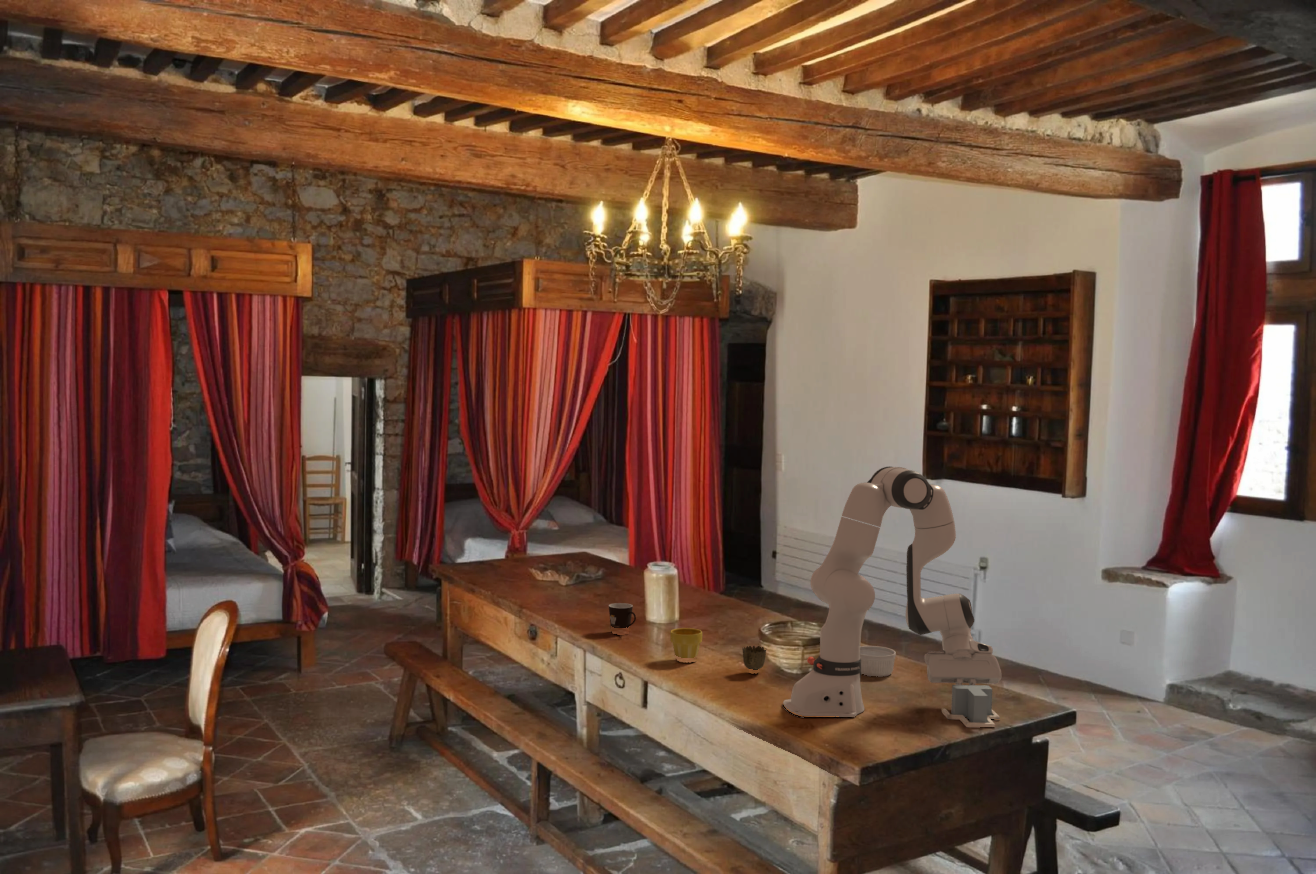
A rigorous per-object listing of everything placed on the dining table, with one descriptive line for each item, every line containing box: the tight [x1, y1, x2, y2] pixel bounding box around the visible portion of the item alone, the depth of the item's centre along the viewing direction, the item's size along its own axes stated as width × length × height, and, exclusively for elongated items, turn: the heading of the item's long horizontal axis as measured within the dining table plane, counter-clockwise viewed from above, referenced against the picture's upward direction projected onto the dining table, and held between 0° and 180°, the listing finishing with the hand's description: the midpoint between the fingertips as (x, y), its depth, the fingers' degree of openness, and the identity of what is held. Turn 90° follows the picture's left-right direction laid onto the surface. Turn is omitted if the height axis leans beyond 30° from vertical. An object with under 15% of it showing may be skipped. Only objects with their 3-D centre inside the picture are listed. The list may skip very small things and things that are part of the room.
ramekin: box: [860, 645, 897, 678], centre depth 338 cm, size 13×13×7 cm
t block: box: [950, 684, 993, 723], centre depth 292 cm, size 10×10×8 cm
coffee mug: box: [608, 602, 637, 628], centre depth 382 cm, size 12×9×10 cm
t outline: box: [941, 708, 1001, 728], centre depth 292 cm, size 14×13×1 cm
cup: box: [742, 645, 767, 670], centre depth 334 cm, size 8×7×8 cm
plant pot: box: [669, 627, 703, 658], centre depth 347 cm, size 10×10×10 cm
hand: (968, 695), depth 297 cm, fingers closed, pressing on t block
